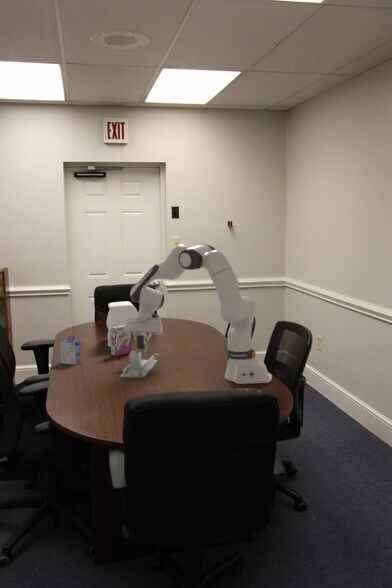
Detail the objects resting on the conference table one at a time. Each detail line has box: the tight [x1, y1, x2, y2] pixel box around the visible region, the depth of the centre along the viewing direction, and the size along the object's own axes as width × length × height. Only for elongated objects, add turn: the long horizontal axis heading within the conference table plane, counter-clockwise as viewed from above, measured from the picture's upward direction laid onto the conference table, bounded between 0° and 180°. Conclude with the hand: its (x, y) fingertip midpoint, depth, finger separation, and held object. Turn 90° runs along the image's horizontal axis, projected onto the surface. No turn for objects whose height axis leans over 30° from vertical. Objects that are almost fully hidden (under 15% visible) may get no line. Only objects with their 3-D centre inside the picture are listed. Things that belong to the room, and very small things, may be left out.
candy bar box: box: [110, 325, 132, 357], centre depth 282 cm, size 11×5×16 cm, turn 134°
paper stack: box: [106, 300, 138, 348], centre depth 308 cm, size 21×27×26 cm
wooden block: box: [135, 332, 148, 354], centre depth 257 cm, size 4×6×10 cm
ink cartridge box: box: [59, 335, 82, 365], centre depth 266 cm, size 10×6×14 cm, turn 70°
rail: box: [119, 350, 158, 379], centre depth 253 cm, size 12×28×11 cm, turn 172°
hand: (141, 340), depth 257 cm, fingers closed on wooden block, 4 cm apart
